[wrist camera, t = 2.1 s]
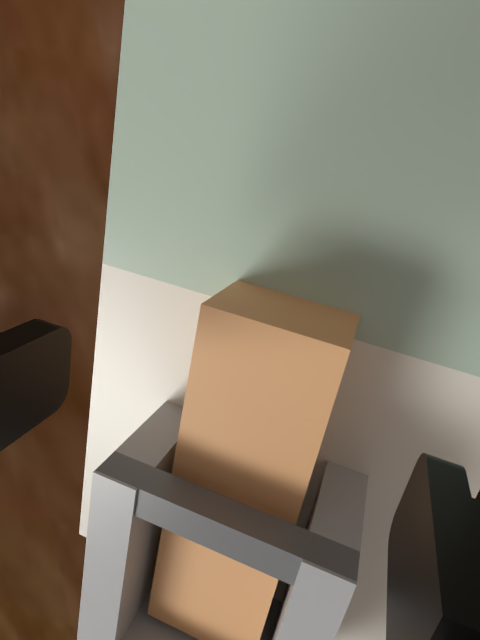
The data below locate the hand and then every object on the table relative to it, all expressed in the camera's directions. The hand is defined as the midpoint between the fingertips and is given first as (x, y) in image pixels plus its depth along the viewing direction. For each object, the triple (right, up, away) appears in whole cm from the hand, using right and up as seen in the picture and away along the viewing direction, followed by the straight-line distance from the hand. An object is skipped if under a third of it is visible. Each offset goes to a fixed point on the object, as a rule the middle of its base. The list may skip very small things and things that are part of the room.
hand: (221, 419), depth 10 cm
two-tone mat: (+2, +1, +6) cm, 6 cm away
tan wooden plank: (+1, -3, +6) cm, 7 cm away
